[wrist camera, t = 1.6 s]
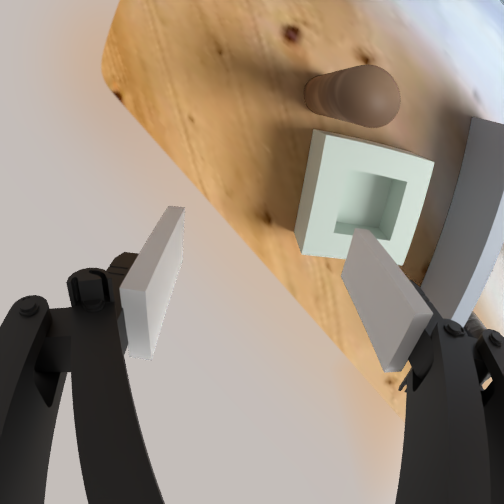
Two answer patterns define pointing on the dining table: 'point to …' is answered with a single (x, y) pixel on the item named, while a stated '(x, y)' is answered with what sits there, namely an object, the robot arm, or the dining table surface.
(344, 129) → the dining table surface
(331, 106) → the dowel
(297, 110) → the dining table surface
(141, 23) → the dining table surface
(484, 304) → the dining table surface
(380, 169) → the socket block
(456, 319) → the wall
